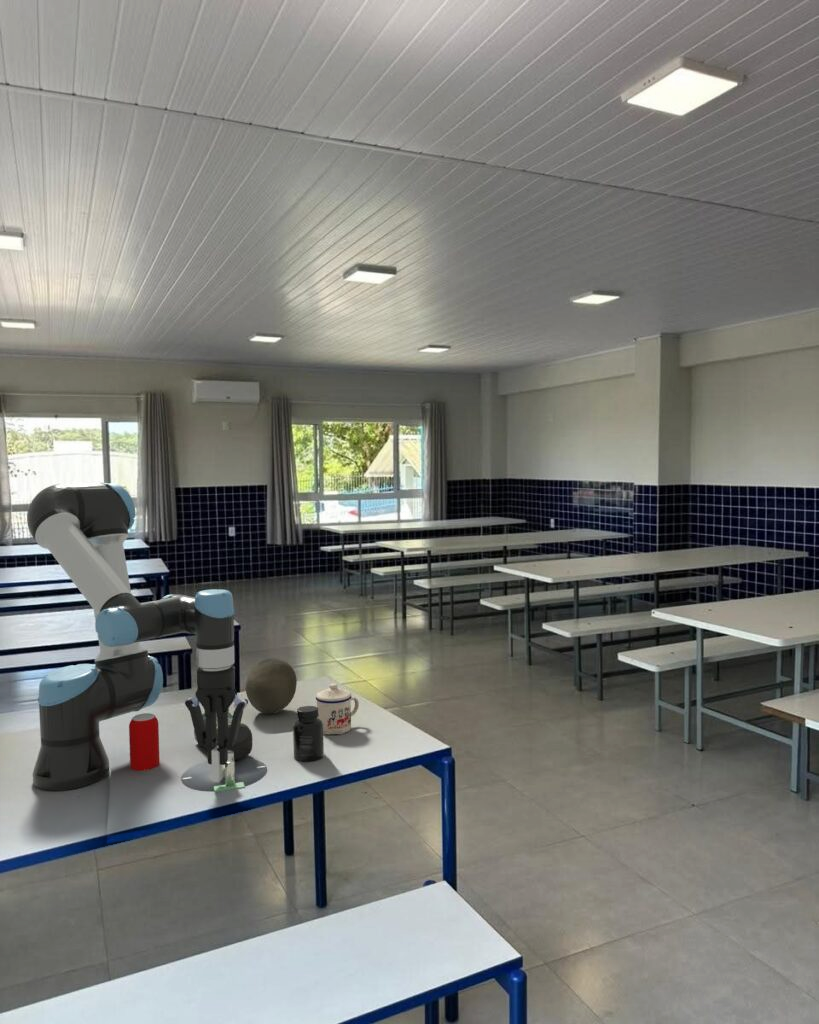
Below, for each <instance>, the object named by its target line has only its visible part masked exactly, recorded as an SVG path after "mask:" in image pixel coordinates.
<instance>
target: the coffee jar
mask: <svg viewBox="0 0 819 1024" xmlns="http://www.w3.org/2000/svg"><path fill="white" fill-rule="evenodd" d="M202 716H203V720H204V724H205V728H206V717H205V712H204V713H202ZM232 718H233V714H232V713H230V711H229V712H228V736H229V731H230V727H231V722H232ZM193 733H194V734H193V735H194V739H195V741H196V742H197V738H196V734H195V730H194V729H193ZM216 736H217V741H218V718H217V712H216ZM216 746H218V743H217V744H216ZM204 748H205V749H207V748H206V747H204ZM228 750H230V751H233V752H234V760H238V759H242V758H247V757H248V756H249V755H250V754H251V752H252V750H253V733H252V730H251V729H250V727H249V725H247V724H246V723H244V722H241V724H240V728H239V733H238V737H237V742H236V743H235V744H234V745H233V746H232V747H230V748H228Z"/></svg>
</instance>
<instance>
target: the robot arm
mask: <svg viewBox="0 0 819 1024" xmlns="http://www.w3.org/2000/svg"><path fill="white" fill-rule="evenodd" d="M27 509H28V510H27V513H26V521H27V527H28V531H29V533H30V535H31V536H32V539H34V541H35V542H36V543H37V545H38V546H39V547H41V548H43V549H46V550H48V551H49V552H50V554H52V556H53V558H54V559H55V560H56V561H57V563H58V564H59V566H60V567H62V569H63V571H64V572H65V573H66V575H67V576H68V578H69V579H70V581H72V582H73V584H74V585H75V587H76V588H77V589H78V590H79V592H80V593H81V595H82V596H83V597H84V598H85V600H86V601H87V603H89V605H90V606H91V608H92V609H93V613H94V614H93V615H94V620H95V622H94V626H95V627H94V628H95V632H96V633H97V640H98V645H99V653H98V654H97V656H96V657H95V659H94V664H95V665H94V664H92V663H78V664H76V665H73V664H71V665H67V666H64V667H63V666H62V667H61V668H60V667H59V668H57V669H55V670H52V671H51V672H49V673H47V674H46V675H44V677H42V679H41V680H40V682H39V685H38V696H37V697H38V698H37V703H38V711H39V733H40V748H39V751H38V755H37V758H36V761H35V765H34V768H33V771H32V783H33V786H34V787H36V788H37V789H40V790H44V791H65V790H66V791H67V790H73V789H78V788H82V787H85V786H88V785H92V784H94V783H97V782H99V781H100V780H102V779H104V778H106V776H107V775H108V774H109V773H110V761H109V760H110V759H109V757H108V754H107V752H106V749H105V746H104V745H103V742H102V739H101V736H100V722H102V721H105V720H109V719H112V718H116V717H119V716H122V715H126V714H129V713H132V712H139V711H141V710H142V709H145V708H147V707H150V706H152V705H153V704H155V703H156V701H157V700H158V699H159V697H160V695H161V693H162V690H163V684H164V673H163V670H162V667H161V664H160V663H159V661H158V659H157V658H156V657H154V656H152V655H151V656H150V655H149V651H148V648H147V647H145V646H144V645H142V644H141V642H143V641H149V640H152V639H159V638H163V637H167V636H172V635H178V634H181V633H182V634H183V633H184V634H185V633H186V634H190V635H191V634H192V635H194V636H195V640H196V642H195V647H196V649H195V650H196V652H195V654H196V667H197V669H196V686H197V689H196V692H195V694H194V695H193V696H190V697H189V698H188V699H186V700H185V701H184V705H185V707H186V708H187V710H188V711H189V713H190V717H191V721H192V726H193V731H194V730H195V734H196V738H197V741H196V742H197V745H198V746H199V747H204V748H205V747H206V748H205V749H206V750H207V751H206V752H207V761H208V764H212V782H219V781H220V780H221V779H222V778H223V777H224V765H225V764H226V763H227V761H228V748H230V747H232V746H233V745H234V744H235V743H236V742H237V737H238V733H239V728H240V724H241V723H242V718H243V714H244V710H245V709H246V707H247V705H248V704H249V700H248V698H244V699H243V698H241V697H240V696H239V695H238V692H237V689H236V685H235V684H236V671H235V670H236V667H235V666H234V664H235V608H234V606H235V605H234V598H233V594H232V592H231V591H230V590H227V589H217V588H215V589H212V588H211V589H205V590H200V591H198V592H196V594H195V597H194V596H189V595H185V594H179V593H178V594H167V595H165V596H163V597H162V598H161V599H159V600H153V601H146V602H145V601H144V602H139V600H138V599H137V598H136V597H135V596H134V595H133V594H132V591H131V584H130V580H129V579H130V578H129V573H128V572H129V571H128V567H127V560H126V554H125V547H124V542H125V541H126V540H127V539H128V537H129V532H128V530H130V529H131V528H132V527H133V526H134V525H135V518H136V506H135V503H134V500H133V498H132V496H131V495H130V493H129V492H128V491H127V489H125V488H124V487H123V486H122V485H120V484H117V483H106V482H93V483H92V482H91V483H59V484H58V483H57V484H53V485H50V486H48V487H45V488H43V489H42V490H40V491H39V492H38V493H37V494H36V495H35V496H34V498H33V499H32V500H31V501H30V503H29V506H28V508H27ZM233 703H234V704H233ZM232 704H233V708H234V711H233V714H232V716H233V718H232V722H231V727H230V731H229V736H228V712H229V713H230V711H229V710H230V706H231V705H232ZM200 705H201V706H202V708H203V709H204V713H205V717H206V728H205V724H204V720H203V716H202V714H203V713H202V708H201V706H200ZM216 712H217V718H218V741H217V736H216ZM217 743H218V746H216V744H217Z"/></svg>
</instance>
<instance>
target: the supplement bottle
mask: <svg viewBox="0 0 819 1024" xmlns="http://www.w3.org/2000/svg"><path fill="white" fill-rule="evenodd" d="M318 716H319V714H318V707H317V706H314V705H305V706H300V707H299V708H297V710H296V718H297V719H296V720H295V721H294V722H293V725H292V732H293V733H292V737H293V739H292V740H293V759H294V760H295V761H297V762H300V763H313V762H317V761H320V760H322V759H323V758H324V755H325V754H324V753H325V752H324V750H325V749H324V748H325V747H324V744H325V743H324V734H323V723H322V721H321V720H320V719H319V718H318Z"/></svg>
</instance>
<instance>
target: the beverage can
mask: <svg viewBox="0 0 819 1024" xmlns="http://www.w3.org/2000/svg"><path fill="white" fill-rule="evenodd" d="M159 729H160V727H159V720H158V717H156V715H155V714H154V713H150V712H145V713H139V714H136V715H134V716H133V717H132V718H131V720H130V722H129V724H128V737H129V738H128V740H129V763H130V764H129V766H130V769H131V770H133V771H136V772H137V771H140V772H141V771H148V770H152V769H154V768H157V767H158V766H159V765H160V762H161V760H160V737H159V736H160V733H159V731H160V730H159Z"/></svg>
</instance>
